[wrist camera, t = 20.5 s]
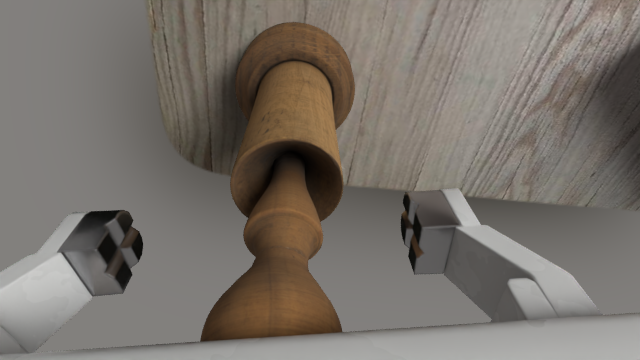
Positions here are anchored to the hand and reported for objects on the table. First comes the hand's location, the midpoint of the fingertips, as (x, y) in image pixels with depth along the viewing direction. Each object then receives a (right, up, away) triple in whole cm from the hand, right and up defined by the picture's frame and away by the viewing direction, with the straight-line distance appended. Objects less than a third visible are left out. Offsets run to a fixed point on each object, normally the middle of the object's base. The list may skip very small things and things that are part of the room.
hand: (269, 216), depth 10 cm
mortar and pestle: (0, +7, +11) cm, 13 cm away
